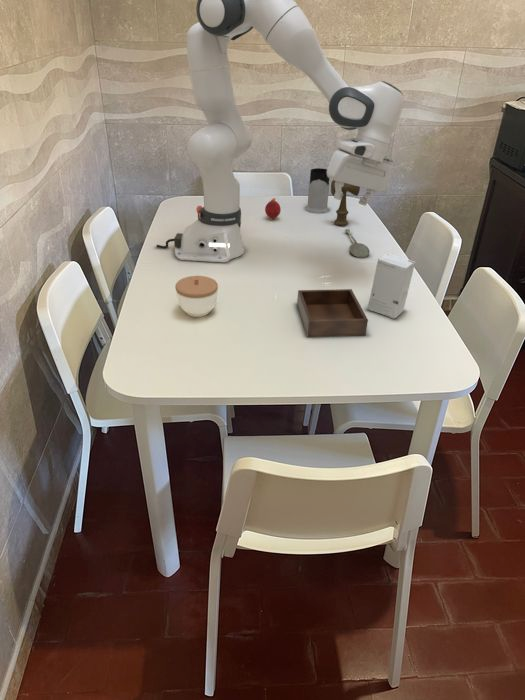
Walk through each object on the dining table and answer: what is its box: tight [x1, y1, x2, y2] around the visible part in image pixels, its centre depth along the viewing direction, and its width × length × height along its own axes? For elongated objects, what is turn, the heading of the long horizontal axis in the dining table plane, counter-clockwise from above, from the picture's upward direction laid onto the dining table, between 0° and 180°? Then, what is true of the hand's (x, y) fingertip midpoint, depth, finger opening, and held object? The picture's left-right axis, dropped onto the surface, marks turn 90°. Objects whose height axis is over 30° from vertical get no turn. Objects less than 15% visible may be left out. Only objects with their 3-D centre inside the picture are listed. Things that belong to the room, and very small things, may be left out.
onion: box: [264, 197, 282, 220], centre depth 198 cm, size 6×6×8 cm
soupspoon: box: [344, 228, 371, 259], centre depth 180 cm, size 22×3×7 cm
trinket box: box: [175, 275, 219, 318], centre depth 136 cm, size 11×11×9 cm
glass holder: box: [305, 167, 330, 214], centre depth 209 cm, size 9×14×15 cm, turn 170°
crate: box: [296, 288, 369, 338], centre depth 136 cm, size 15×17×4 cm
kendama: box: [330, 180, 361, 227], centre depth 192 cm, size 6×10×20 cm, turn 101°
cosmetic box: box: [367, 252, 416, 320], centre depth 138 cm, size 8×6×15 cm
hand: (349, 201), depth 145 cm, fingers open, 8 cm apart
